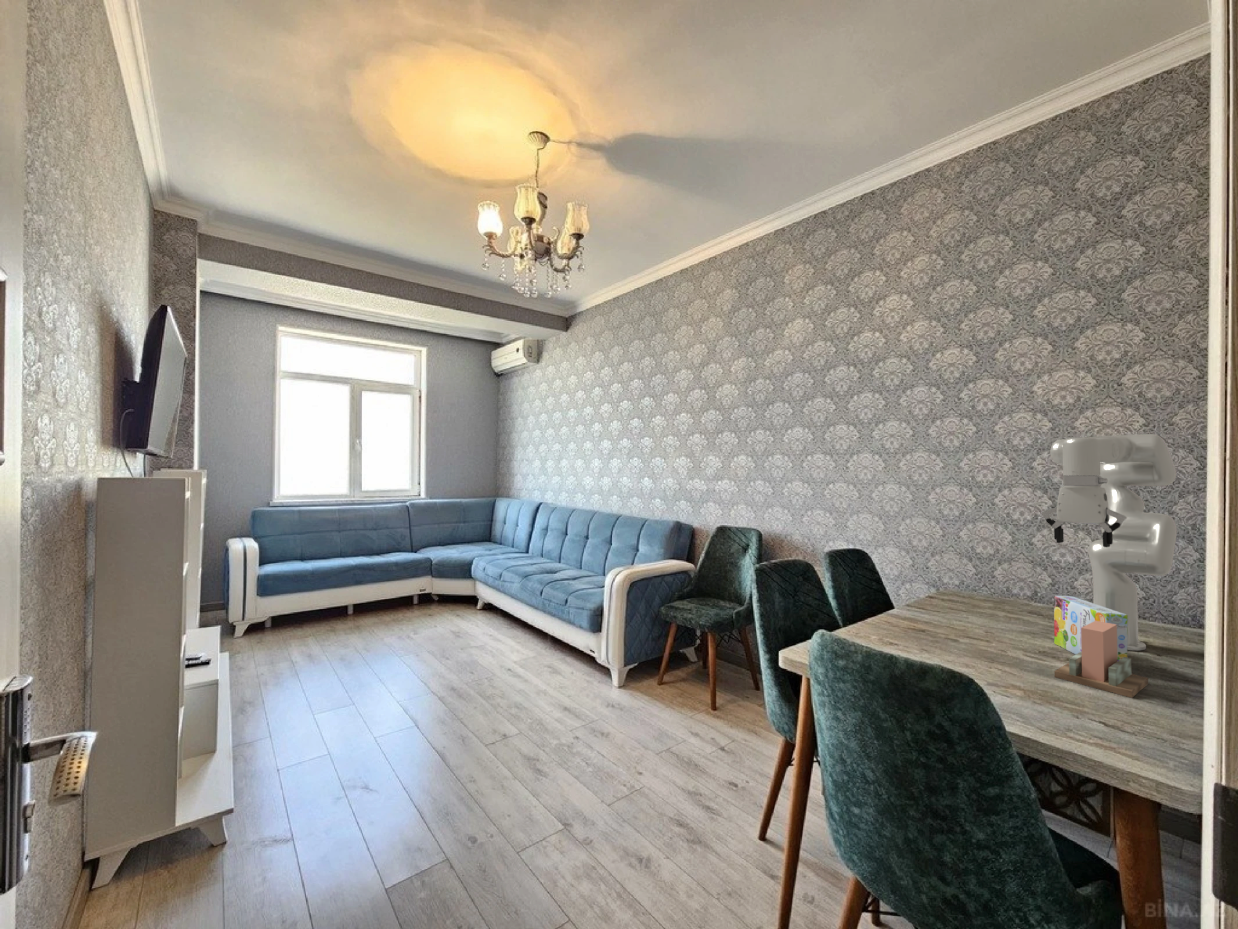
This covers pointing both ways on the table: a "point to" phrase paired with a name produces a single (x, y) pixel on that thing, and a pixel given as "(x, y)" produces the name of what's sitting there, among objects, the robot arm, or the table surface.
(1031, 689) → the table surface
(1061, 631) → the snack box
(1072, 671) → the shelf board
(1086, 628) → the tall pink block
